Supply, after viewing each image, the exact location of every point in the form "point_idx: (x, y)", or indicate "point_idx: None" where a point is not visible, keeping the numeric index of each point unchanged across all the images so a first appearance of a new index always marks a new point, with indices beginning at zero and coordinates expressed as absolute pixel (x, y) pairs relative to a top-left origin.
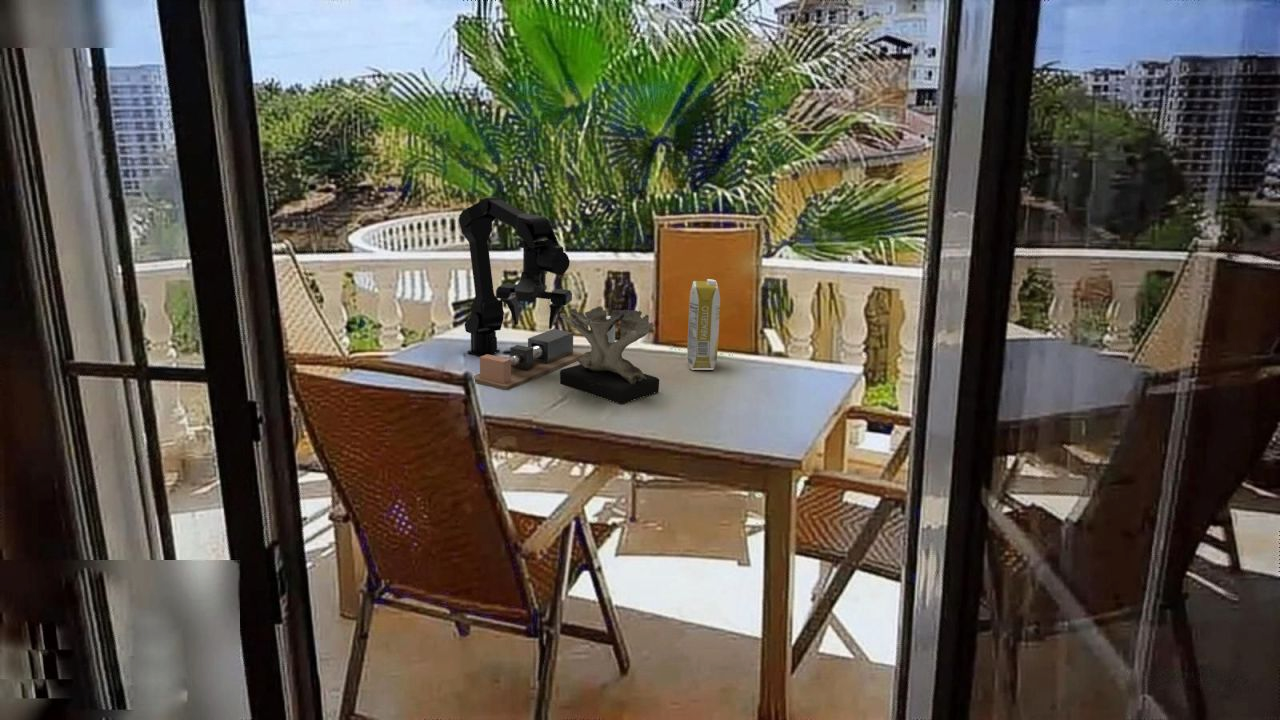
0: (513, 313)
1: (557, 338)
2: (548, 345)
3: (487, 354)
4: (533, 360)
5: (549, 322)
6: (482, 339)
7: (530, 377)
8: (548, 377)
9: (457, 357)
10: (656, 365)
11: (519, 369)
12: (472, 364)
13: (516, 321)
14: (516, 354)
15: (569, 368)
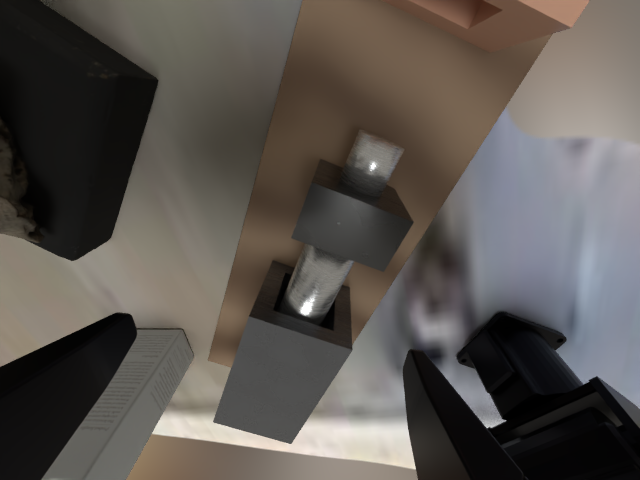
0: (486, 465)
1: (233, 365)
2: (252, 309)
3: (570, 18)
4: None
5: (71, 350)
6: (544, 370)
7: (281, 83)
8: (233, 151)
9: (602, 295)
10: (21, 325)
11: None
12: (548, 236)
13: (417, 372)
14: (372, 195)
15: (74, 97)
